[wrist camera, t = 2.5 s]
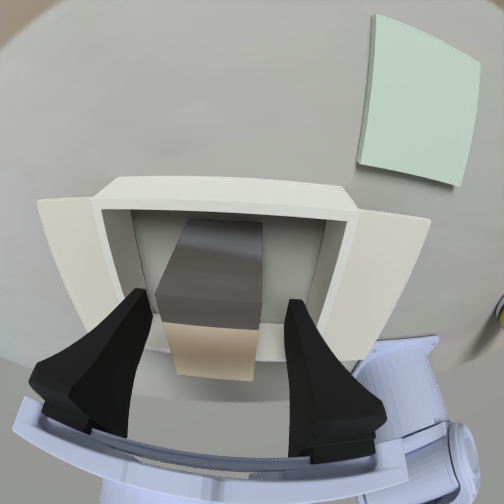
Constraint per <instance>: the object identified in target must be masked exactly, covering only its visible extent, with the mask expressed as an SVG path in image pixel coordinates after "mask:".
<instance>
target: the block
mask: <svg viewBox="0 0 504 504" xmlns="http://www.w3.org/2000/svg"><path fill="white" fill-rule="evenodd" d="M155 297H156V301H157V305H158V309H159V313H160V317H161V320H162V324H163V328H164V331H165V335H166V338H167V342H168V345H169V348H170V352H171V355H172V358H173V361H174V364H175V368H176V371H177V374H179V375H187V376H195V377H203V378H213V379H224V380H237V381H253V375H254V367H255V359H256V351H257V342H258V334H259V325H260V316H261V308H262V223H257V222H241V221H222V220H202V219H189V220H188V222H187V224H186V226H185V228H184V230H183V232H182V234H181V236H180V238H179V240H178V243H177V245H176V247H175V249H174V251H173V253H172V256H171V258H170V260H169V262H168V264H167V267H166V269H165V271H164V274H163V276H162V278H161V280H160V283H159V285H158V287H157V290H156V292H155Z"/></svg>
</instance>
